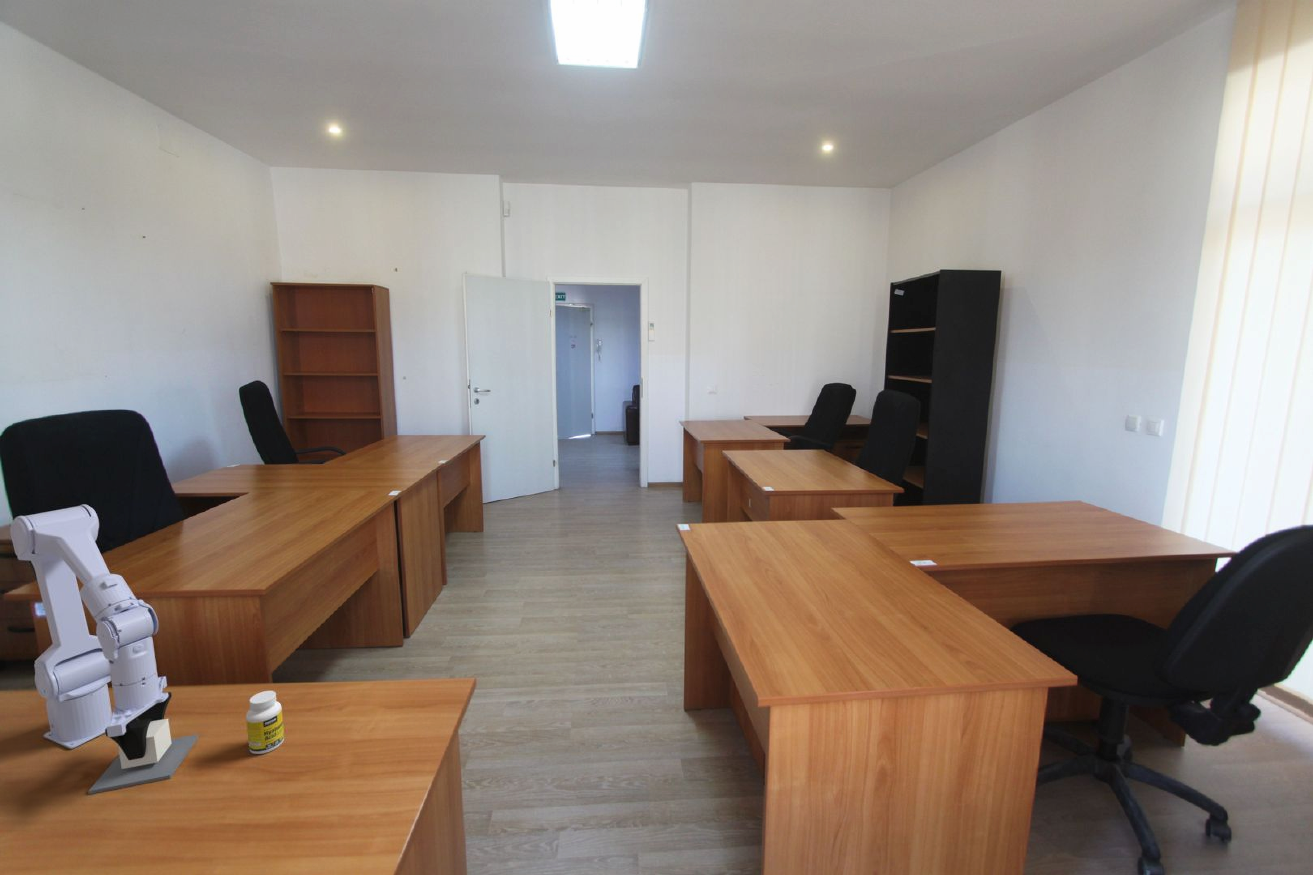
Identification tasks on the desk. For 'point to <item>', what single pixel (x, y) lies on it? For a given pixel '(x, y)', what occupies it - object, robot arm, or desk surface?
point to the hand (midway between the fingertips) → (145, 747)
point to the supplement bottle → (264, 723)
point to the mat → (145, 768)
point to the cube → (151, 745)
